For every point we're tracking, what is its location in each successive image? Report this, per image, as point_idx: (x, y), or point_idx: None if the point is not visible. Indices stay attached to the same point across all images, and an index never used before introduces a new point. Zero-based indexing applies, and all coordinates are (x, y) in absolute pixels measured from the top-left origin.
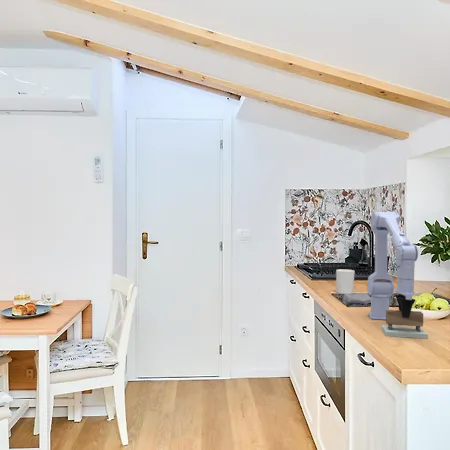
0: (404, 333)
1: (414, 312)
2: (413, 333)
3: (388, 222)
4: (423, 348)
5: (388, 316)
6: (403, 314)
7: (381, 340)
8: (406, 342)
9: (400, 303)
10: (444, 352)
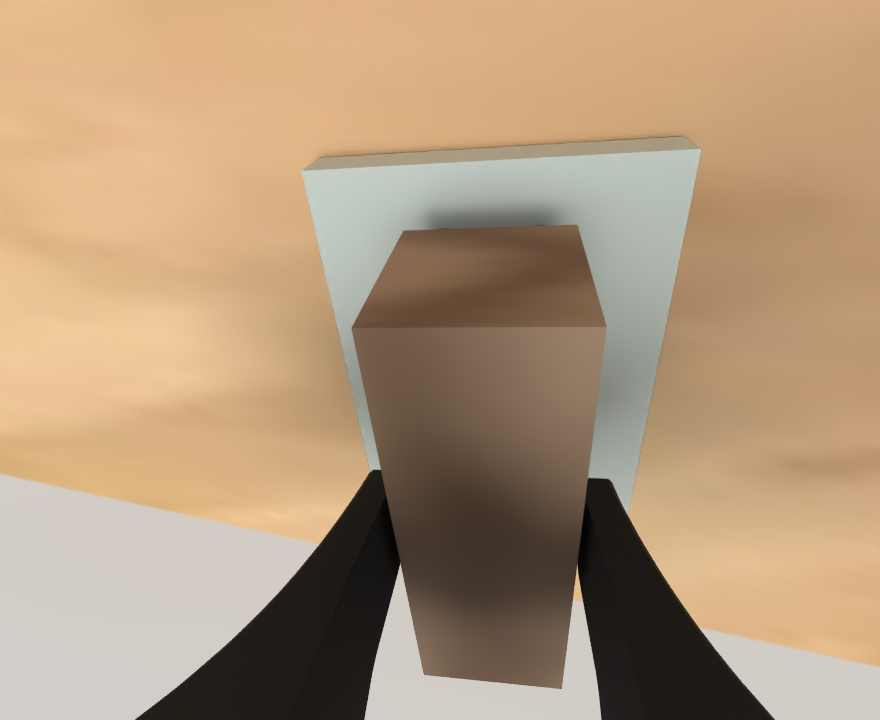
0: (345, 361)
1: (475, 633)
2: (363, 430)
3: None
4: (90, 407)
5: (374, 293)
6: (352, 510)
7: (92, 84)
8: (181, 327)
9: (244, 668)
10: (89, 490)
